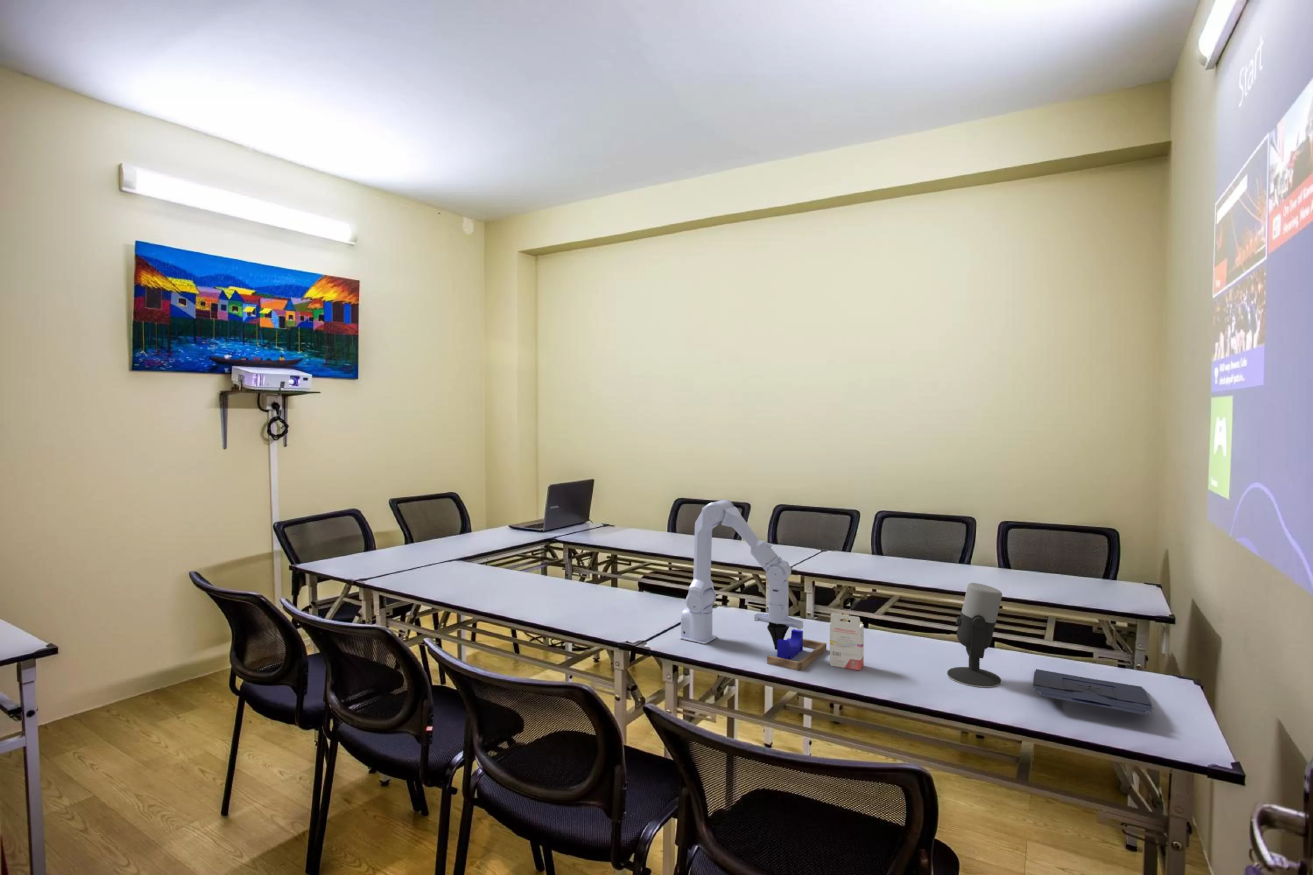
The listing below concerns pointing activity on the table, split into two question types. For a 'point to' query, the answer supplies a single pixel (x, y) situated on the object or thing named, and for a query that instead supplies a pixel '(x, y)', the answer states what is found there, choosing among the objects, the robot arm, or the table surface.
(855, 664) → the ink cartridge box
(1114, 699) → the grooved grey slab
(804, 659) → the frame
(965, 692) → the table surface
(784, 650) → the blue curved bracket
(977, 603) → the microphone
